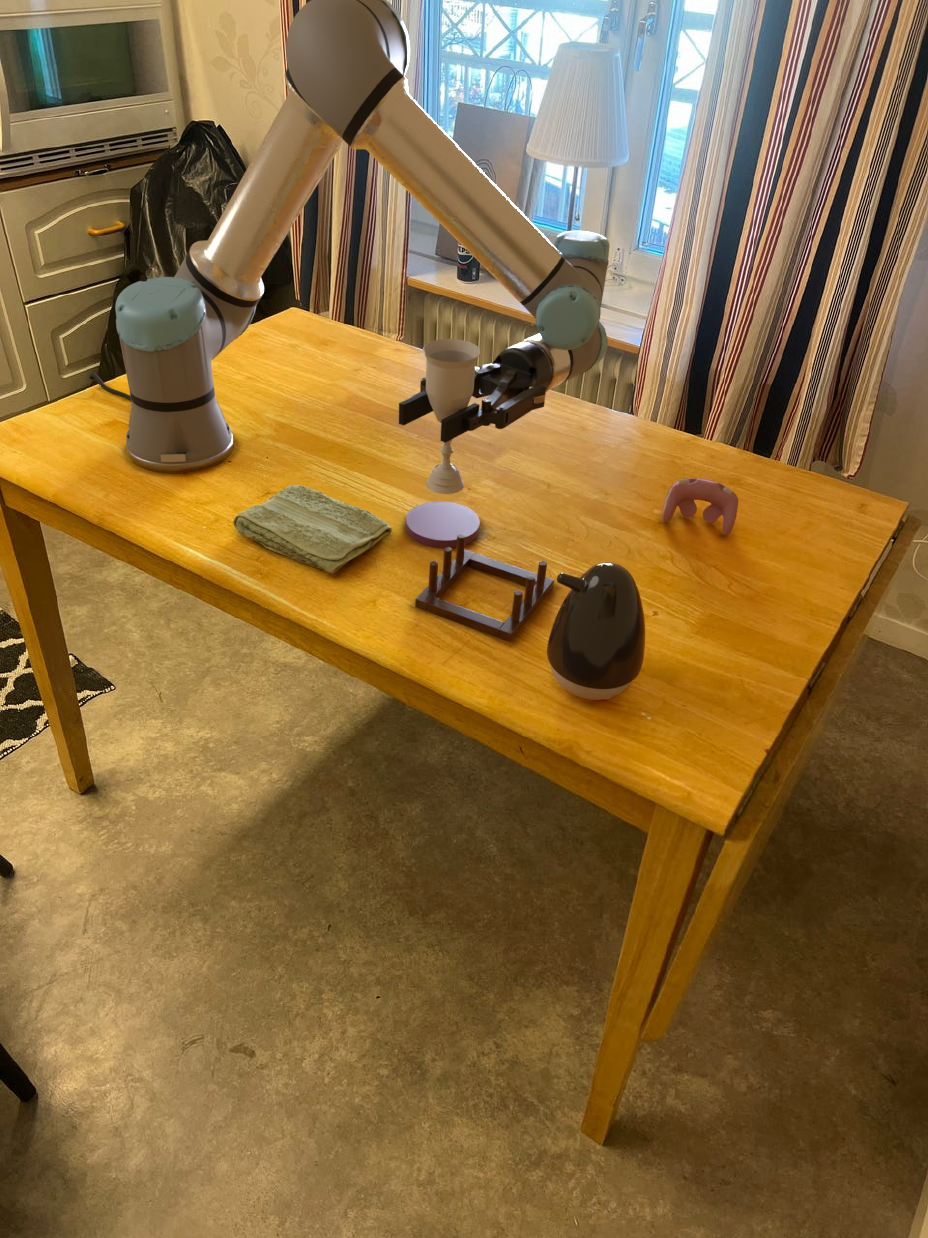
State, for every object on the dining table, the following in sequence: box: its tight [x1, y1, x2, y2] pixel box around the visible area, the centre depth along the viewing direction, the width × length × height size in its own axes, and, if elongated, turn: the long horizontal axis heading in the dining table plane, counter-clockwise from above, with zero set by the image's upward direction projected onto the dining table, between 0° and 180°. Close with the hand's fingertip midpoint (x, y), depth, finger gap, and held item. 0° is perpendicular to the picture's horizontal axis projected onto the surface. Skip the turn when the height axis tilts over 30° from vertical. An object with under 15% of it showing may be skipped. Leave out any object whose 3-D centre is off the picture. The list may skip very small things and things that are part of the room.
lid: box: [405, 500, 481, 549], centre depth 120 cm, size 10×10×1 cm
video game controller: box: [662, 477, 739, 537], centre depth 124 cm, size 10×5×7 cm, turn 71°
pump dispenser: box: [546, 562, 646, 701], centre depth 92 cm, size 10×10×15 cm
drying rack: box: [414, 534, 555, 643], centre depth 107 cm, size 13×13×5 cm
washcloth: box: [232, 484, 392, 575], centre depth 115 cm, size 13×18×3 cm
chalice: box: [422, 338, 481, 495], centre depth 110 cm, size 7×7×18 cm
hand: (422, 422), depth 106 cm, fingers closed on chalice, 6 cm apart
